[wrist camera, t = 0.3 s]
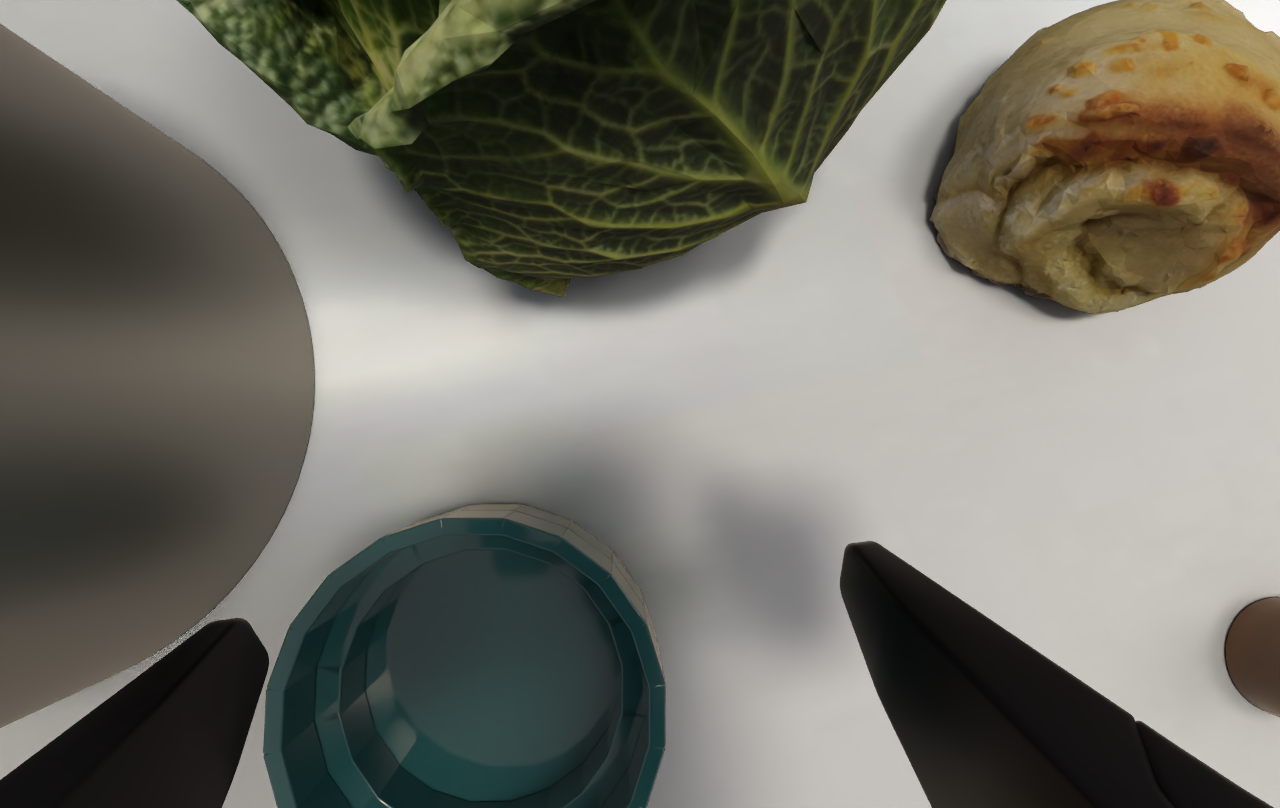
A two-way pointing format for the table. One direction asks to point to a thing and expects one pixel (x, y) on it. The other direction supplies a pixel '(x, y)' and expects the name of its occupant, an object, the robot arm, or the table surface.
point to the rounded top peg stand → (1257, 654)
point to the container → (129, 384)
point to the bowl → (470, 673)
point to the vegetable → (580, 110)
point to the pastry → (1119, 156)
